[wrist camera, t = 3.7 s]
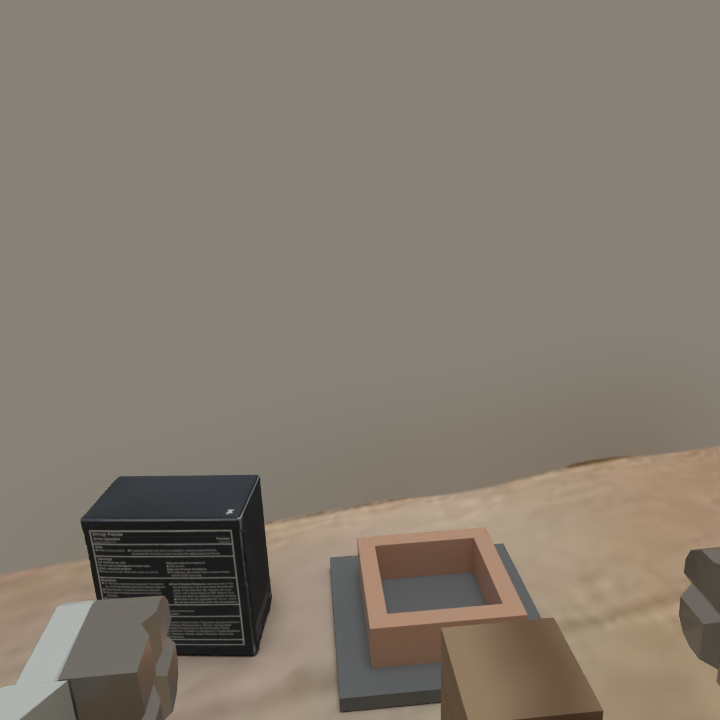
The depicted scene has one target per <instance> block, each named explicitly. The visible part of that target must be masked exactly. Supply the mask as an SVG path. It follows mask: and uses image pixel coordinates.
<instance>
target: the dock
mask: <svg viewBox="0 0 720 720" xmlns="http://www.w3.org/2000/svg"><path fill="white" fill-rule="evenodd" d="M357 546H358V555H357V556H345V557H332V558H330V566H331V580H332V595H333V610H334V624H335V639H336V653H337V668H338V682H339V697H340V711H341V712H345V711H356V710H366V709H376V708H386V707H396V706H407V705H417V704H427V703H437V702H441V628H444V627H455V626H467V625H478V624H489V623H500V622H511V621H522V620H533V619H541V617H540V615H539V613H538V611H537V609H536V607H535V605H534V603H533V601H532V599H531V597H530V595H529V593H528V591H527V589H526V587H525V585H524V584H523V582H522V580H521V578H520V576H519V574H518V572H517V570H516V568H515V566H514V564H513V562H512V560H511V558H510V556H509V554H508V552H507V550H506V548H505V546H504V544H493V542H492V540H491V538H490V536H489V534H488V532H487V530H486V528H475V529H462V530H450V531H437V532H424V533H412V534H399V535H387V536H374V537H362V538H357Z"/></svg>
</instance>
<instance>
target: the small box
mask: <svg viewBox="0 0 720 720" xmlns="http://www.w3.org/2000/svg"><path fill="white" fill-rule="evenodd" d="M81 525H82V529H83V532H84V535H85V542H86V545H87V549H88V554H89V560H90V566H91V572H92V577H93V582H94V587H95V593H96V597H97V600H104V599H120V598H135V597H150V596H165V597H166V599H167V600H168V603H169V609H170V614H171V622H170V626H169V630H168V633H167V636H168V637H169V638H170V639H171V640H172V641H173V642H174V643H175V645H176V652H177V654H184V655H194V654H196V655H254V654H255V653H256V652H257V650H258V648H259V640H260V638H261V634H262V631H263V628H264V623H265V621H266V616H267V613H268V612H269V609H270V604H271V599H272V594H271V587H270V577H269V567H268V556H267V547H266V537H265V526H264V517H263V505H262V497H261V487H260V476H259V475H217V476H215V475H213V476H121V477H118V478H117V479H116V480H115V481H114V482H113V483H112V484H111V486H110V487H109V488H108V489H107V490H106V491H105V493H104V494H103V495H102V496H101V497H100V498H99V499H98V501H97V502H96V503H95V504H94V505H93V506H92V507H91V508H90V509H89V511H88V512H87V513H86V514H85V515H84V516H83V517H82V518H81Z"/></svg>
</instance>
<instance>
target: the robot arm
mask: <svg viewBox="0 0 720 720" xmlns="http://www.w3.org/2000/svg"><path fill="white" fill-rule="evenodd" d="M684 574H685V575H686V576H687V578H688V579H689V581H690V582H691V583H692V584H691V585H690V586H689V587H688V588H687V589H686V591H685V592H684V593H683V594H682V595H681V597H680V609H679V617H680V622H681V626H682V631H683V634H684V636H685V638H686V640H687V642H688V644H689V646H690V648H691V649H692V650H693V652H694V653H695V654H696V656H697V657H698V658H699V659H700V660H702V661H704V662H705V663H707V664H709V665H711V666H713V667H714V668H716V669H718V672H717V683H718V684H719V685H720V547H717V548H707V549H696V550H691V551H690V552H689V554H688V556H687V558H686V561H685V568H684ZM170 622H171V614H170V609H169V603H168V600H167V599H166V597H165V596H150V597H135V598H120V599H104V600H97V601H94V600H92V601H80V602H68V603H63V604H61V605H60V606H58V607H57V608H56V609H55V611H54V613H53V615H52V616H51V618H50V620H49V622H48V624H47V626H46V628H45V629H44V631H43V633H42V635H41V637H40V639H39V640H38V642H37V644H36V646H35V648H34V650H33V652H32V653H31V655H30V657H29V659H28V661H27V663H26V665H25V666H24V668H23V670H22V672H21V674H20V676H19V677H18V679H17V681H16V683H15V685H13V686H4V687H2V688H1V689H0V720H165V719H166V718H167V717H168V716H169V715H170V714H171V713H172V712H173V708H174V703H175V699H176V693H177V680H178V662H177V652H176V645H175V643H174V642H173V641H172V640H171V639H170V638H169V637H168V636H167V633H168V630H169V626H170Z"/></svg>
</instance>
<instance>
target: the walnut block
mask: <svg viewBox="0 0 720 720" xmlns="http://www.w3.org/2000/svg"><path fill="white" fill-rule="evenodd" d="M602 719H603V709H602V707H601V705H600V703H599V702H598V700H597V698H596V696H595V694H594V692H593V690H592V689H591V687H590V685H589V683H588V681H587V679H586V677H585V675H584V674H583V672H582V670H581V668H580V666H579V664H578V662H577V660H576V659H575V657H574V655H573V653H572V651H571V649H570V647H569V646H568V644H567V642H566V640H565V638H564V636H563V634H562V632H561V631H560V629H559V627H558V625H557V623H556V621H555V619H554V618H544V619H533V620H522V621H511V622H500V623H489V624H478V625H467V626H455V627H444V628H441V720H602Z"/></svg>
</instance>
